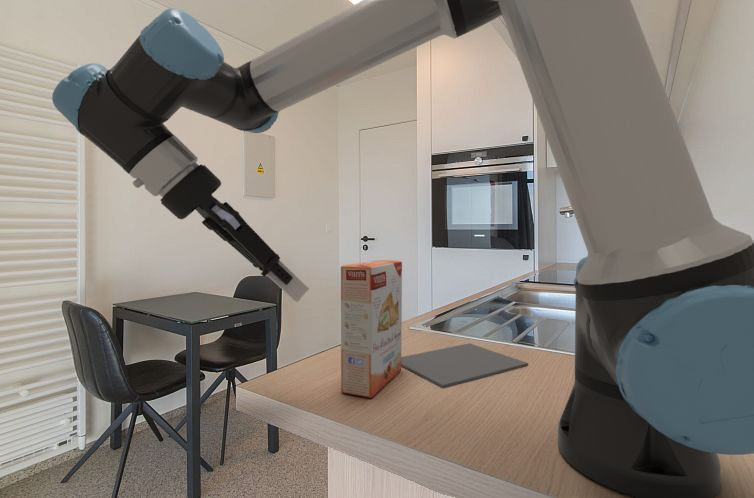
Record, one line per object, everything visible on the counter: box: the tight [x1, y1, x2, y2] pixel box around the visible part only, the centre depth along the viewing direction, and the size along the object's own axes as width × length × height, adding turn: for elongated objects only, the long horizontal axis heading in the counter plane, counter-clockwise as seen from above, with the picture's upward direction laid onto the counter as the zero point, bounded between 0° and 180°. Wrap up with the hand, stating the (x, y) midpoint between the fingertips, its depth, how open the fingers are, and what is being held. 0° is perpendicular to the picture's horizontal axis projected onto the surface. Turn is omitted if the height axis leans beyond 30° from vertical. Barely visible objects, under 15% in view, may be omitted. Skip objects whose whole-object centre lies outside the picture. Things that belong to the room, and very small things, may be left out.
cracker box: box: [340, 259, 403, 399], centre depth 68 cm, size 14×6×21 cm, turn 156°
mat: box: [401, 343, 529, 389], centre depth 77 cm, size 16×21×1 cm
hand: (301, 294), depth 61 cm, fingers closed
